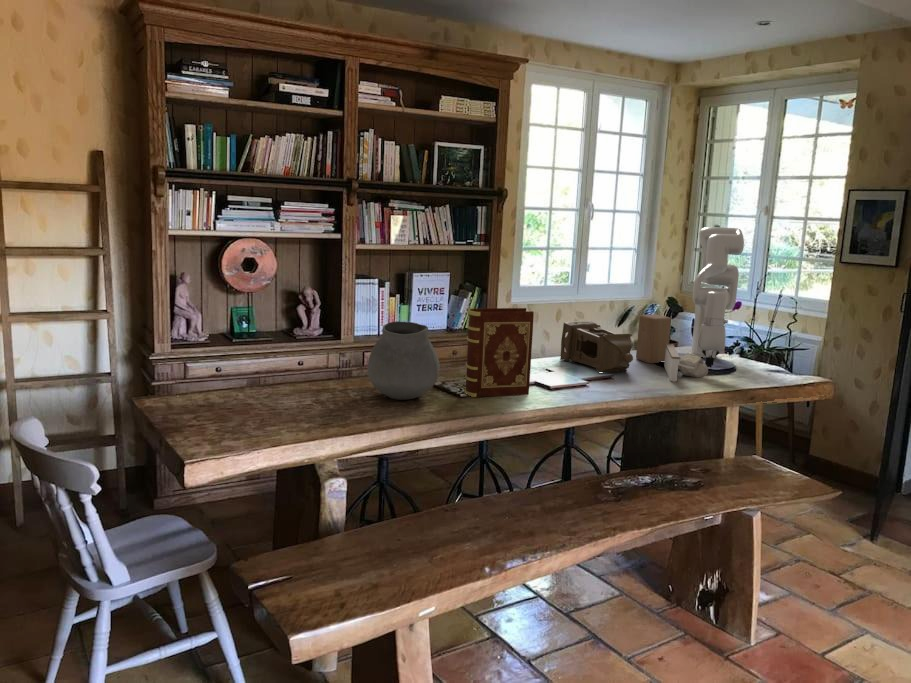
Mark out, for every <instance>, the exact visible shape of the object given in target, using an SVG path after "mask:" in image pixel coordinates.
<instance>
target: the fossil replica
mask: <svg viewBox="0 0 911 683" xmlns="http://www.w3.org/2000/svg"><path fill="white" fill-rule="evenodd" d="M679 357H680V359H679V363H678V370H679V371H680V373H681V374H682V375H683V376H686V377H692V378H695V379H699V378H703V377H705V376H707V375H708V373H709V367H707V366H706V365H705V362H704V360H703V358H701V357H697V356H691V355H688V354H684V355H681V356H679Z"/></svg>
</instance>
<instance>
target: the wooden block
mask: <svg viewBox="0 0 911 683" xmlns="http://www.w3.org/2000/svg"><path fill="white" fill-rule="evenodd" d="M638 320H639V321H638V329H637V330H638V331H637V342H636V352H635V353H636V354H635V358H636V359H637V360H638V361H642V362H644V363H647V364H660V363H659V362H661V361H665V353H666V344H670V334H671V326H672V318H671V317H669V316H665V315H662V314H657V313H653V314H641V315H639V318H638Z"/></svg>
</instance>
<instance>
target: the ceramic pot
mask: <svg viewBox="0 0 911 683" xmlns="http://www.w3.org/2000/svg"><path fill="white" fill-rule="evenodd" d="M381 331H382V334H381V336H380V338H379V339H378V340H377V342H375V344H374V346H373V348H372V350H371V351H370V355H369V356H368V357H369V358H368V361H367V376H368V379H369V381H370V382H371V384H372V386H373V387H375V389H377V390H378V391H379V392H380V393H382V394H383V395H385V396H386V397H389V398H390V399H393V400H398V401H399V400H400V401H402V400H403V401H405V400H412V399H416V398H418V397H420V396H422V395H424V394H426V393H427V392H428V391H430V390H431V389H432V388H433V387H434V386H435V384H436V383H437V381H438V379H439V375H440V367H441V366H440V360H439V356H438V355H437V352H436V350H435V348H434V345H433V344H432V342H431V340H430V339H429V327H428V326H427V325H426V324H425V325H424V324H419V323H417V322H411V321H399V320H398V321H391V322H387V323H385V324H384V325H383V326H382V330H381Z"/></svg>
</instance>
